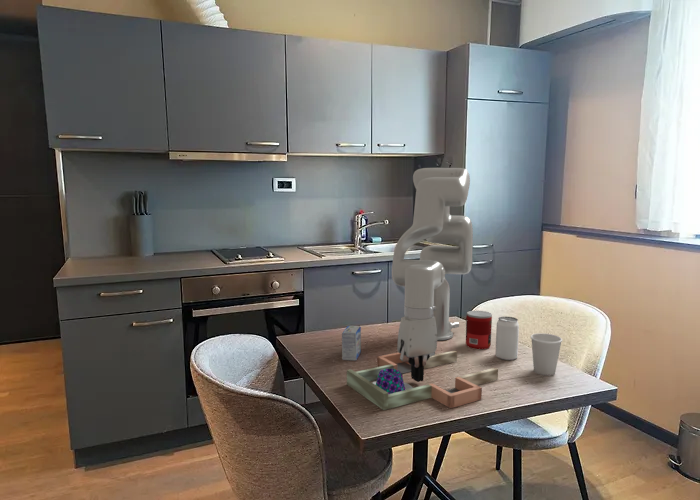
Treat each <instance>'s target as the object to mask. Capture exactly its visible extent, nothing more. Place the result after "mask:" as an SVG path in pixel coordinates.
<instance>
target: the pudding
mask: <svg viewBox="0 0 700 500" xmlns="http://www.w3.org/2000/svg"><path fill="white" fill-rule="evenodd" d="M371 382H372V383H373V384H375V385H377V386H378V387H380V388H381V389H383V390H384V391H386V392H388V394H392V393H396V392H400V391H404V390H408V389H412V388H414V387H413V385H410V384H409V383H407V382H404V378H403V374H401V372H400V371H399V370H395V369H384V370H381V371H380V372H379V374H378V377H377V380H374V381H371Z"/></svg>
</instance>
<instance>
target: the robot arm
mask: <svg viewBox="0 0 700 500" xmlns="http://www.w3.org/2000/svg"><path fill="white" fill-rule="evenodd" d="M412 181H413V185H414V188H415V191H416V192H415V199H414V200H415V201H414V210H413V218H412V219H413V220H412V221H413V222H412V225H411V226H410V227H409V228H408V229H407V230H406V231H405V232H403V234H402V235H401V237H400V238H399V239H398V241H397V243H396V244H395V247H394V251H393V257H392V263H391V264H392V265H391V279H392V282H393V283H394V284H395V285H396V286H399V287H404V304H403V305H404V307H403V308H404V310H403V312H404V313H403V315H404V316H402V317H401V318H400V323H399V328H398V332H397V333H398V335H397V346H396V347H397V353H398V352H399V353H401V356H400V360H401V361H403V362H409V364H410V365H411V372H410V377H411V379H412V380H413V381H416V382H418V383H419V382H423V381H424V376H425V375H424V374H425V369H424V366H425V365H426V362H427V360H428V359H429V357H432V356H434V355H436V352H437V348H438V347H437V346H438V341H445V340H450V339H452V338H453V337H454V333H453V331H452V329H456V328H459V326H460V324H459V322H458V321H455V322H454V321H453V322H451V321H450V295H451V293H450V292H451V291H450V288H451V287H450V283H449V282H448V280H447V279H446V275H467V274H469V273H470V272H471V270H472V267H473V266H472V265H473V244H474V243H473V235H474V233H473V232H474V231H473V230H474V229H473V224H472V223H473V222H472V219H470V218H469V216H466V215H452V214H450V212H451V211H450V209H451V208H450V207H463V206H464V205H465V204H466V201H467V200H468V195H469V190H470V186H471V185H470V184H471V178H470V173H469V170H467V168H464V167H423V168H418V169H416V170H415V171H414V172H413V176H412ZM424 240H426V242H427V243H431V244H432V245H428V246H425V247H423V248H422V250H421V251H420V253H419V259H410V258H409V259H408V258H407V259H406V258H405V255H406V253H407V251H408V250H409V249H410V248H411V247H412V246H414V245H415V244H417V243H420V242H422V241H424ZM434 244H443V245H434ZM454 245H455V246H454Z"/></svg>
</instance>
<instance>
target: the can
mask: <svg viewBox="0 0 700 500" xmlns="http://www.w3.org/2000/svg"><path fill="white" fill-rule="evenodd" d="M518 321H519V320H518V318H516V317H512V316H499V317H498V320H497V322H496V332H495V333H496V335H495V357H496V358H497V359H500V360H504V361H515V360H516V359H517V358H518V352H519V335H520V332H519V329H520V325H519V324H520V323H519V322H518Z"/></svg>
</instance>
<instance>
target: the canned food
mask: <svg viewBox="0 0 700 500" xmlns="http://www.w3.org/2000/svg"><path fill="white" fill-rule="evenodd" d="M465 320H466V321H465V322H466V323H465V344H466V346H467V347H468V348H470V349H473V350H488V349H490V347H491V344H492V326H493V325H492V324H493V322H492V321H493V314H492V313H491V312H489V311H486V310H470V311H467V312H466V319H465Z"/></svg>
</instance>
